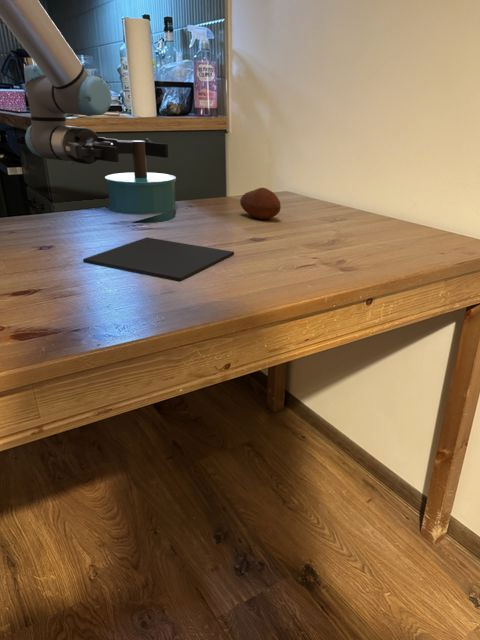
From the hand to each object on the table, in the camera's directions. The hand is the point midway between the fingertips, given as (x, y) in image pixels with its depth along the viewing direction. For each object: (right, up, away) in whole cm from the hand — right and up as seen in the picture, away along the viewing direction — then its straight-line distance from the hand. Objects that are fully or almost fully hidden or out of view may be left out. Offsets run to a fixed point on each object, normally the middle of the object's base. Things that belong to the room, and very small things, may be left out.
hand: (143, 152), depth 102 cm
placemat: (+8, -26, -21) cm, 34 cm away
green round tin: (-1, -11, +6) cm, 13 cm away
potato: (+24, -11, +9) cm, 28 cm away
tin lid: (-1, -5, +3) cm, 6 cm away
